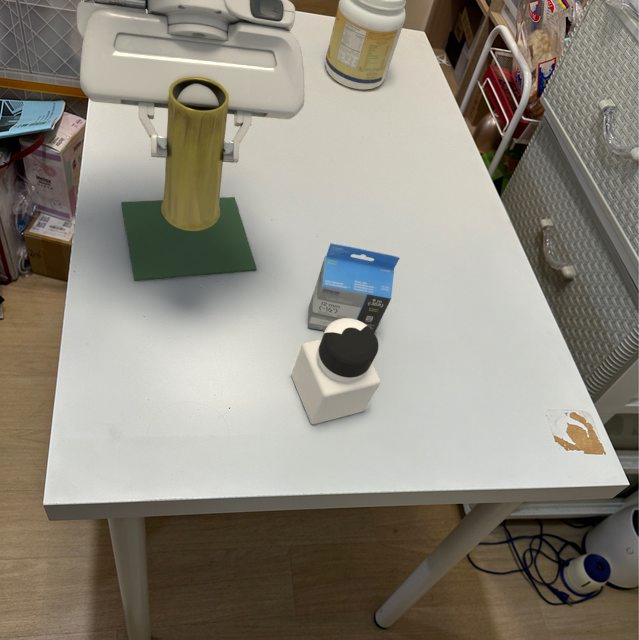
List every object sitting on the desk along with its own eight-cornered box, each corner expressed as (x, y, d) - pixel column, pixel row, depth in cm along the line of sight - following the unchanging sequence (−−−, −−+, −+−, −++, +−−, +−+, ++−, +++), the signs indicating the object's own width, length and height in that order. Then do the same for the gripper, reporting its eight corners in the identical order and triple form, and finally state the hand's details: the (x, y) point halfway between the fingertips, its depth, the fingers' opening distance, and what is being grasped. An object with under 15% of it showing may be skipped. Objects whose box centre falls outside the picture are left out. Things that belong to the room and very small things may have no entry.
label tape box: (306, 328, 78) (328, 266, 69) (308, 304, 81) (329, 240, 71) (371, 340, 79) (402, 280, 70) (372, 316, 82) (401, 255, 72)
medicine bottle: (364, 411, 73) (396, 358, 63) (310, 426, 70) (335, 372, 60) (342, 362, 76) (369, 305, 67) (290, 374, 73) (310, 316, 64)
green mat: (134, 281, 77) (134, 279, 76) (121, 203, 84) (121, 201, 84) (256, 270, 82) (256, 268, 82) (234, 198, 89) (234, 196, 89)
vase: (223, 197, 66) (237, 81, 55) (216, 236, 63) (230, 121, 51) (166, 186, 65) (170, 66, 54) (156, 226, 62) (157, 106, 50)
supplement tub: (340, 48, 122) (362, -41, 108) (393, 74, 120) (423, -13, 107) (312, 73, 114) (333, -19, 101) (369, 100, 113) (398, 11, 100)
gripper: (70, -27, 49) (74, 147, 52) (312, 7, 55) (306, 164, 57) (79, 0, 55) (82, 154, 58) (296, 28, 61) (291, 169, 63)
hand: (195, 159), depth 57 cm, fingers closed on vase, 5 cm apart
